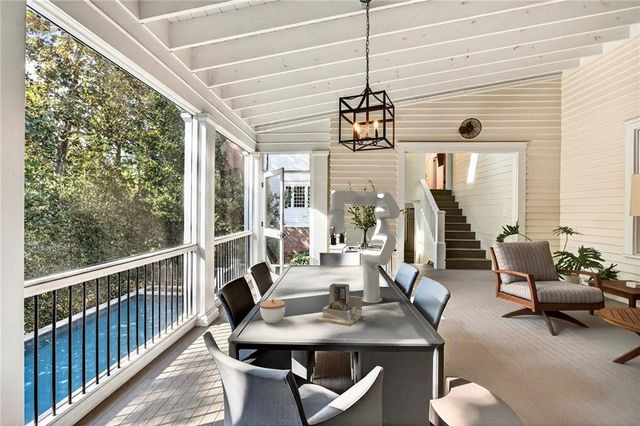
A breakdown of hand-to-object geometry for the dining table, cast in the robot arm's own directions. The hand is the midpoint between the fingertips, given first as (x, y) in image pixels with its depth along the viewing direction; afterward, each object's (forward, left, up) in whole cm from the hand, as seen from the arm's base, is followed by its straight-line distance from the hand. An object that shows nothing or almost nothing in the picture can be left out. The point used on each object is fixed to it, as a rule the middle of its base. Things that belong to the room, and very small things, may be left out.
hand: (337, 244), depth 197 cm
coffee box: (+12, +7, -36) cm, 38 cm away
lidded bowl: (+32, -20, -36) cm, 52 cm away
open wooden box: (+12, +7, -36) cm, 39 cm away
